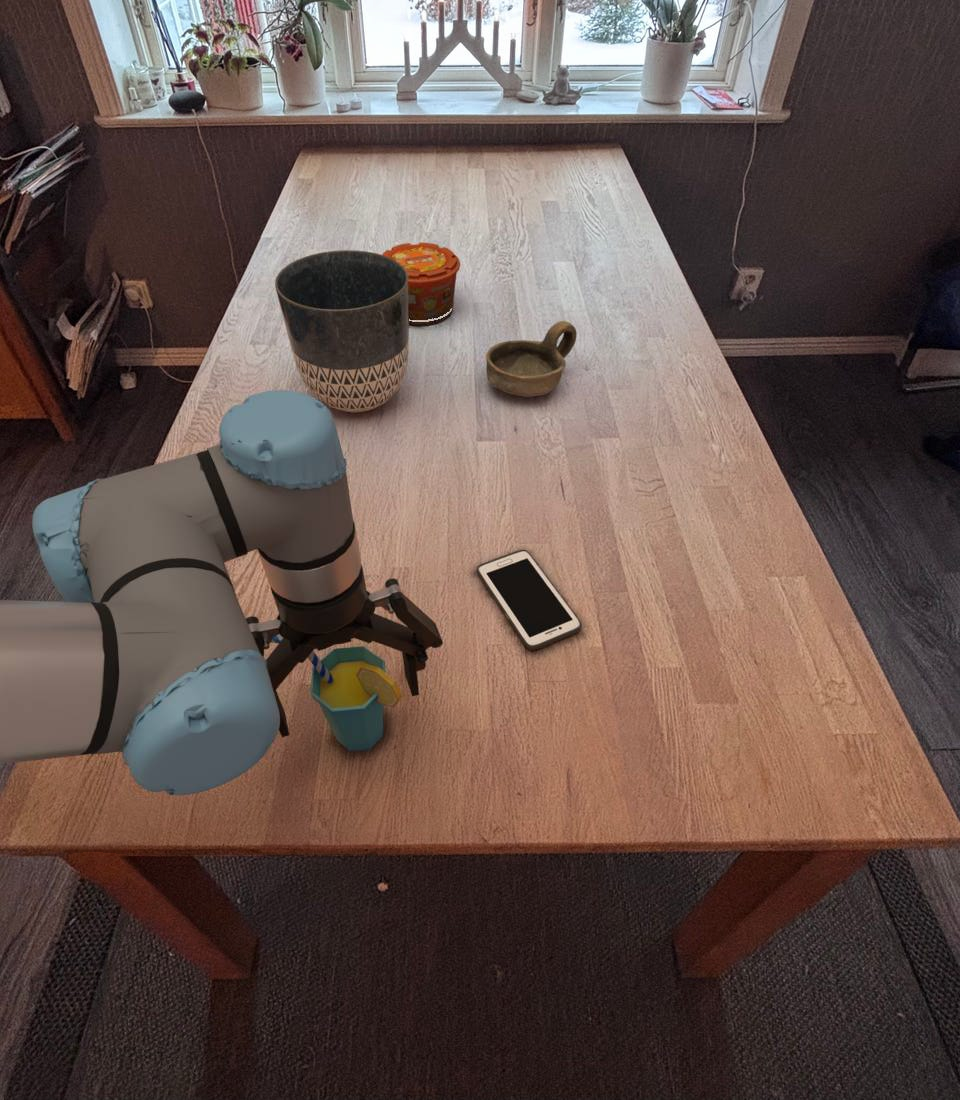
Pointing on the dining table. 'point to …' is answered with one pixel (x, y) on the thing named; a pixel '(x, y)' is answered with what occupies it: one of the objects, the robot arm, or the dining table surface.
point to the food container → (428, 279)
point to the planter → (347, 325)
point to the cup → (352, 694)
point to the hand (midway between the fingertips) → (349, 704)
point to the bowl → (530, 362)
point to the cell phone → (528, 599)
